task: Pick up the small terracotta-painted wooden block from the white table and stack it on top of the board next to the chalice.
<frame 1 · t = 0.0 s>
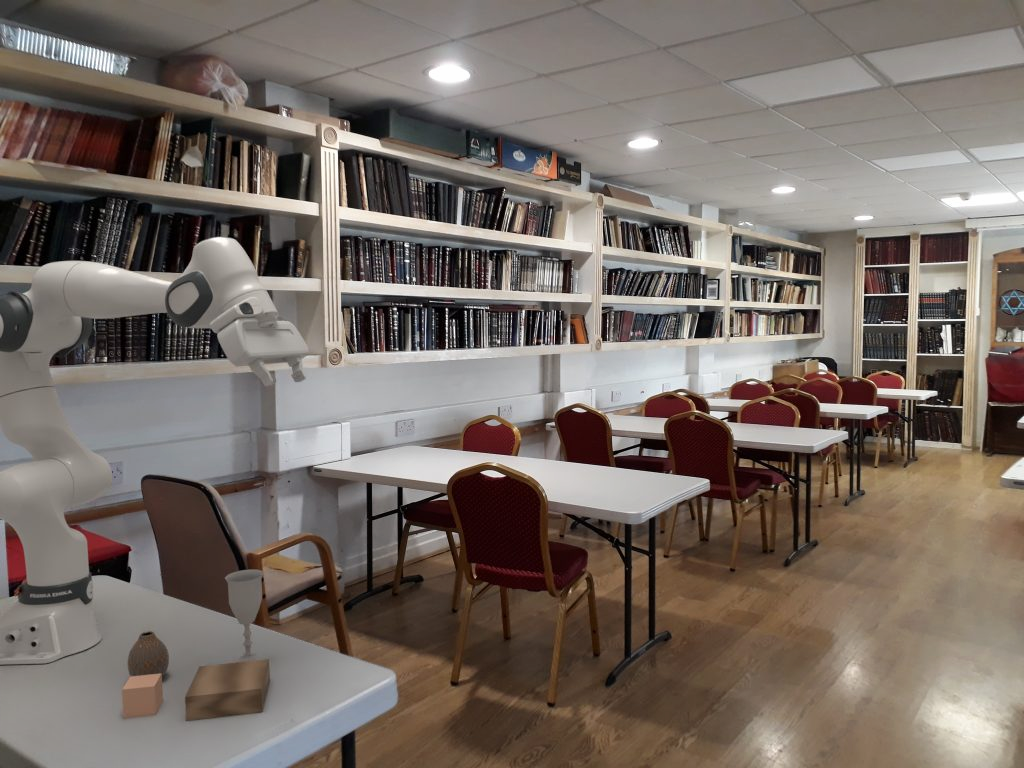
hand: (286, 382, 140), 54 cm above the table, tool tilted 30°, fingers open, 8 cm apart
board: (230, 699, 134), on the table
block: (143, 709, 131), on the table
chalice: (249, 669, 147), on the table
vase: (149, 680, 143), on the table
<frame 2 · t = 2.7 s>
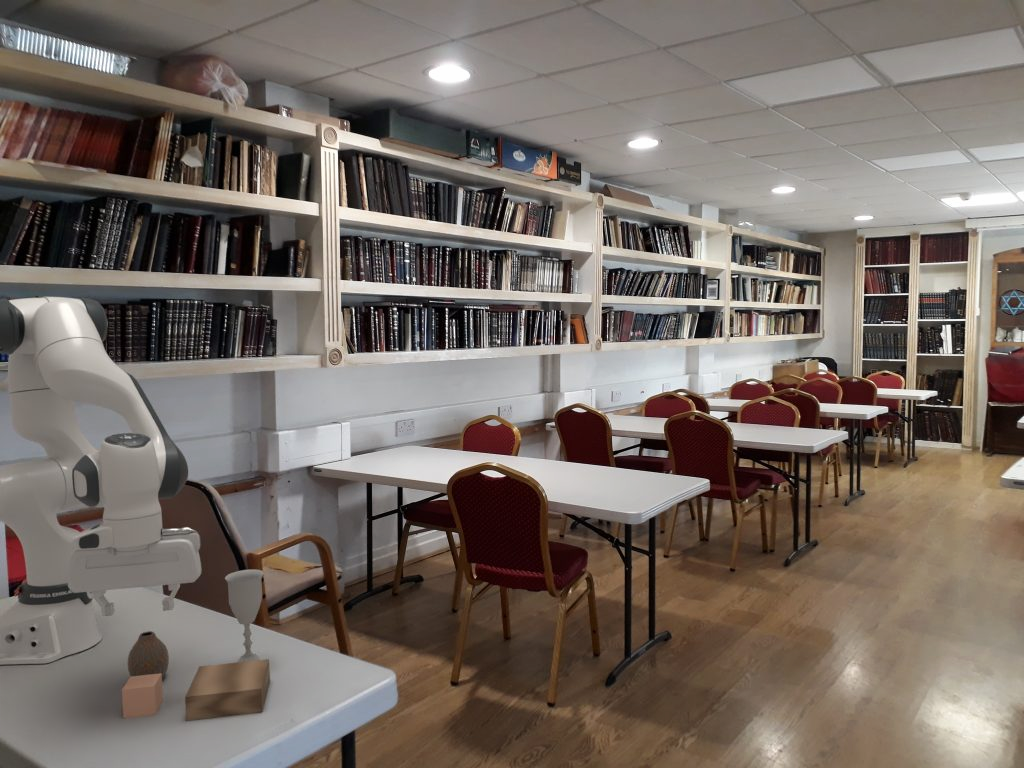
hand: (138, 612, 130), 17 cm above the table, tool pointing down, fingers open, 8 cm apart
nothing on the table moved.
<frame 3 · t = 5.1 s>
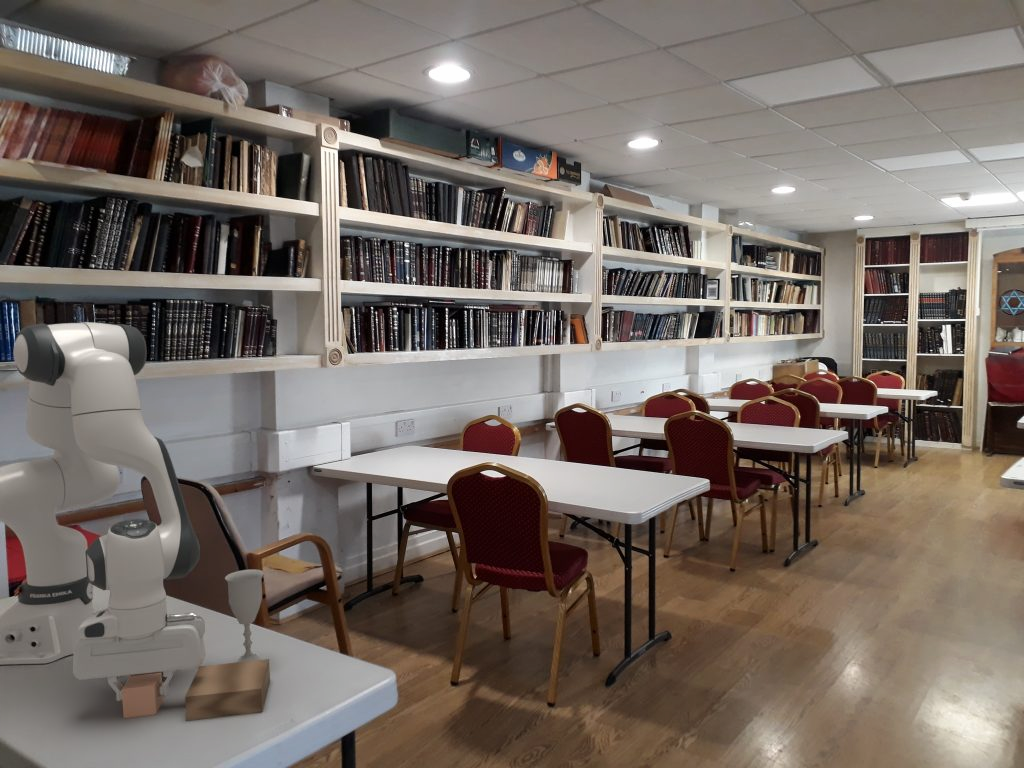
hand: (143, 697, 131), 2 cm above the table, tool pointing down, fingers closed on block, 5 cm apart
block: (143, 709, 131), on the table, touching gripper
everything else where it was.
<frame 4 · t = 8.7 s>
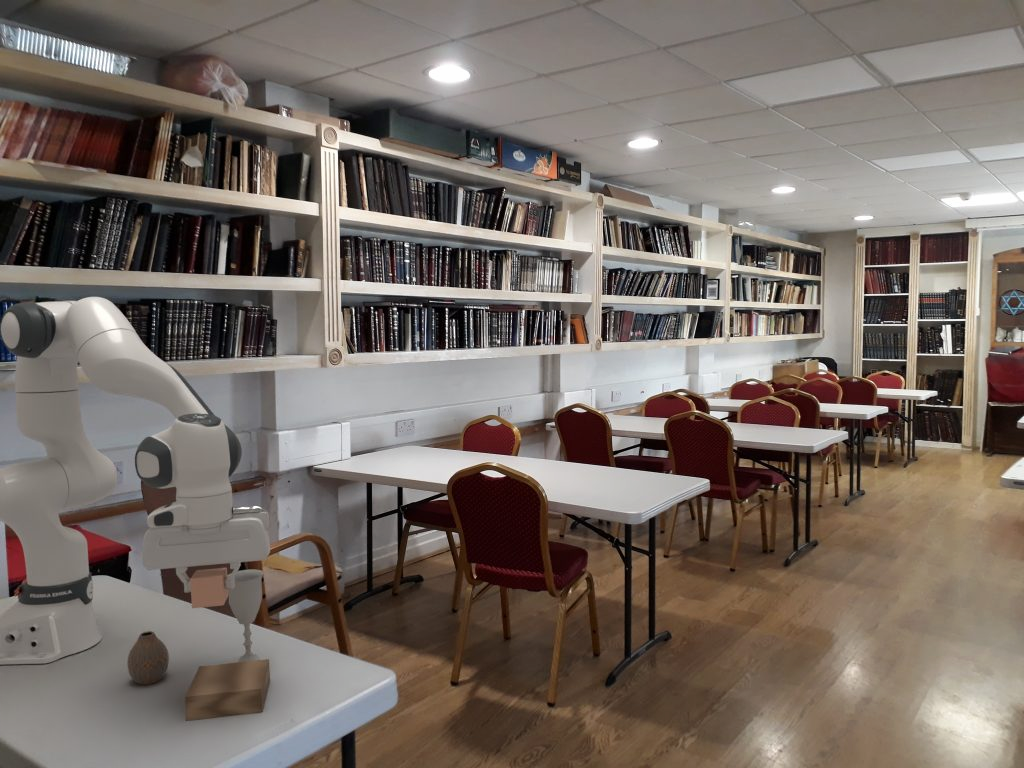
hand: (210, 589, 132), 20 cm above the table, tool pointing down, fingers closed on block, 5 cm apart
block: (210, 601, 132), point 18 cm above the table, touching gripper
everything else where it was.
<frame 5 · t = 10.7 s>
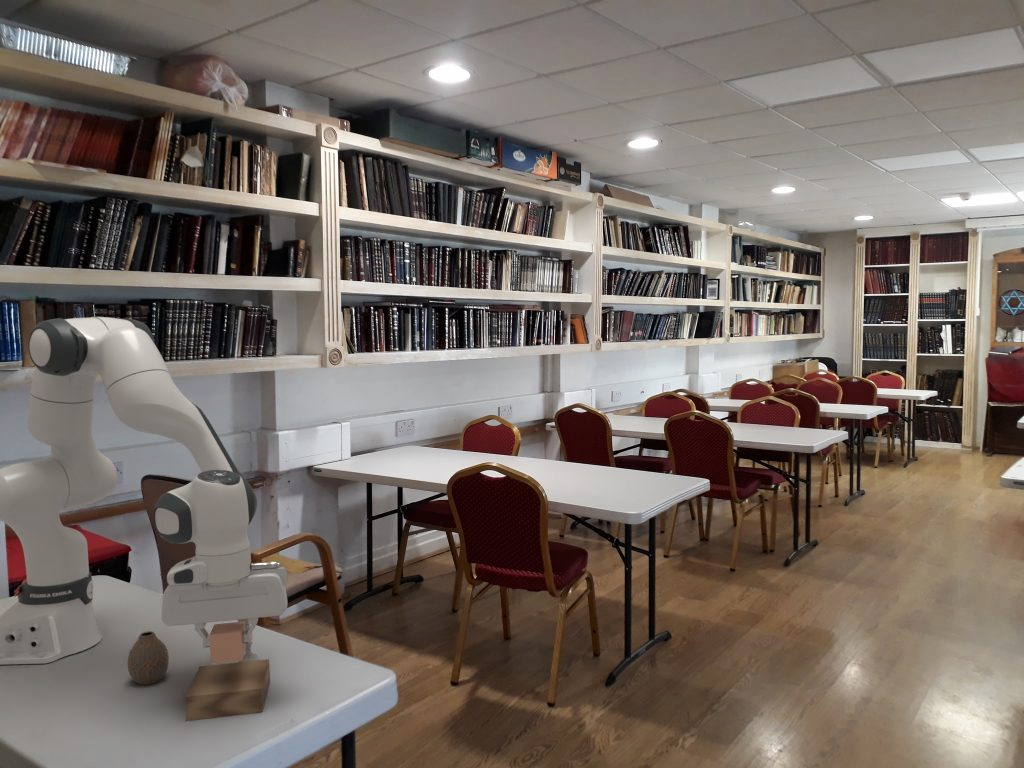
hand: (228, 644, 133), 10 cm above the table, tool pointing down, fingers closed on block, 5 cm apart
block: (228, 656, 133), point 8 cm above the table, touching gripper
everything else where it was.
when the fingers open (8 cm above the table, at t = 12.3 s): block drops 1 cm, resting on board.
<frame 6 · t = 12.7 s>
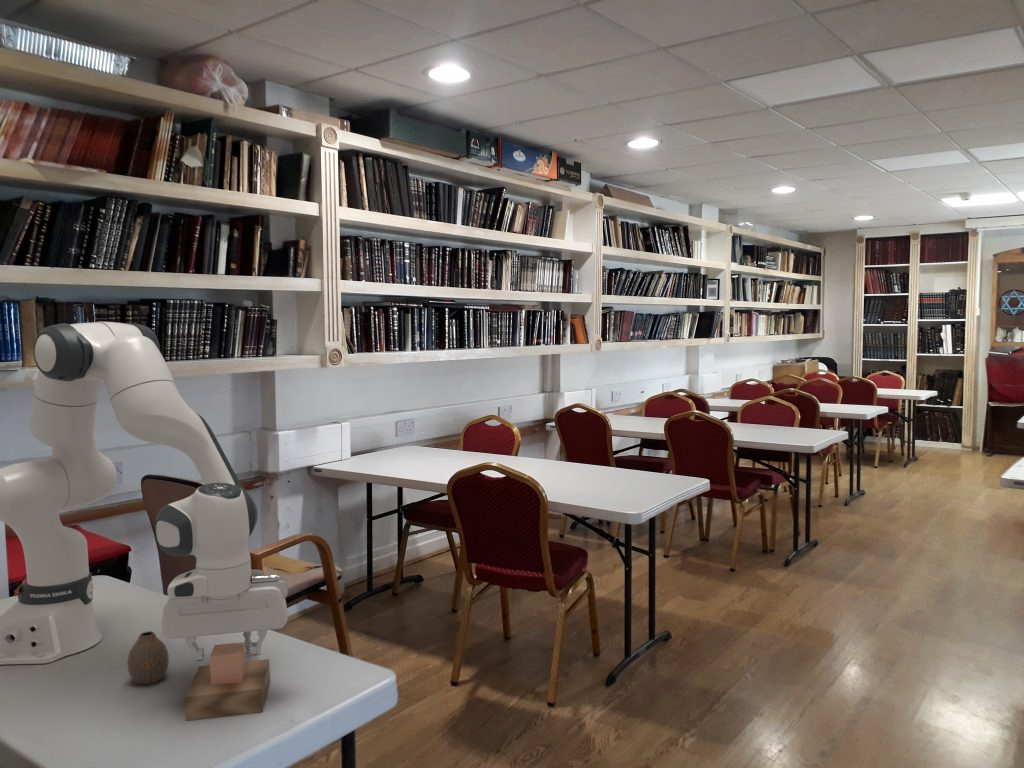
hand: (228, 656, 134), 8 cm above the table, tool pointing down, fingers open, 8 cm apart
block: (228, 677, 134), point 4 cm above the table, touching board
everything else where it was.
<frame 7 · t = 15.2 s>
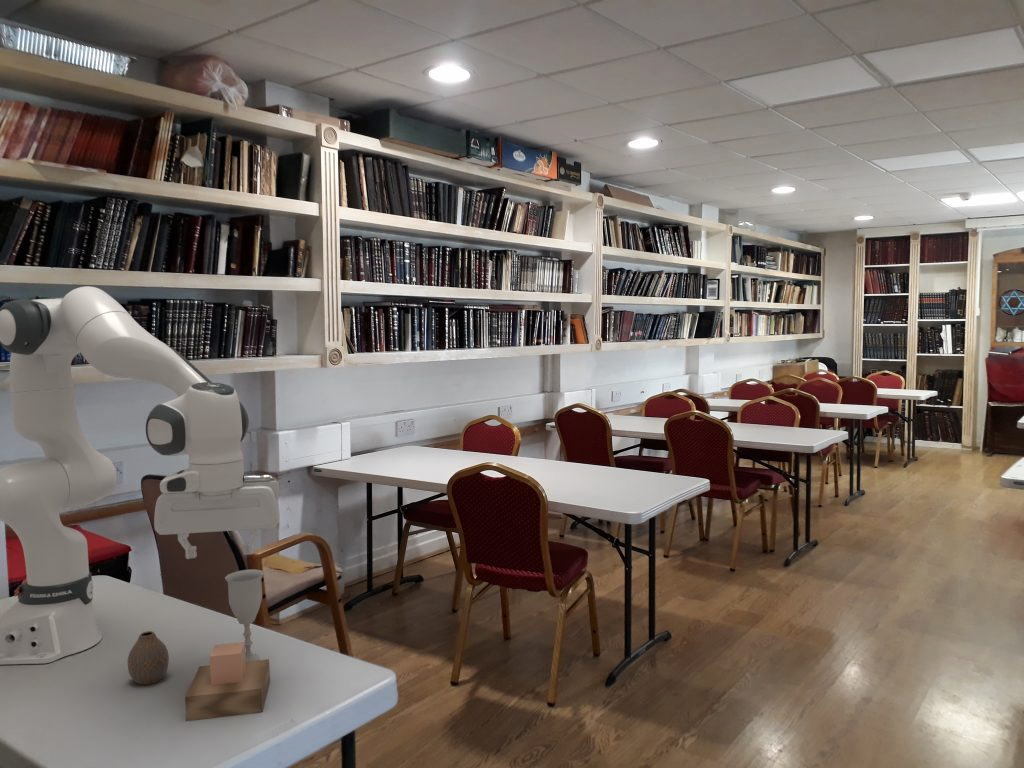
hand: (220, 555, 134), 25 cm above the table, tool pointing down, fingers open, 8 cm apart
nothing on the table moved.
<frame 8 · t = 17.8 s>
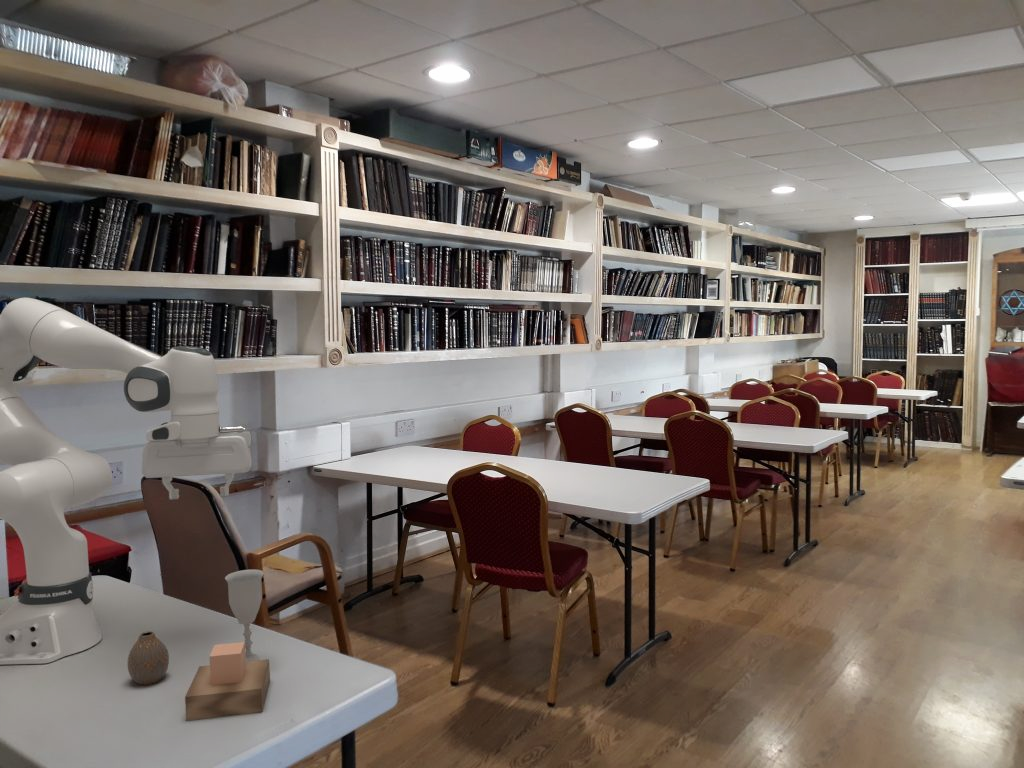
hand: (199, 497, 154), 31 cm above the table, tool pointing down, fingers open, 8 cm apart
nothing on the table moved.
at the end: block inside the target area on the board (0.1 cm from its centre), point 4.0 cm above the board's base; block tilted 0°; the gripper is holding nothing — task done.
